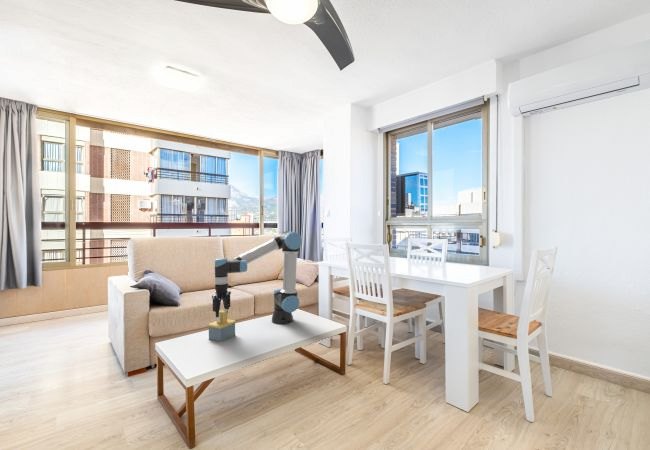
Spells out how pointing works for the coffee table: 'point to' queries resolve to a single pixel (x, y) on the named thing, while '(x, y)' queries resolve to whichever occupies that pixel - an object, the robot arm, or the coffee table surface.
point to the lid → (222, 321)
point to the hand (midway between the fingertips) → (222, 320)
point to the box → (221, 332)
